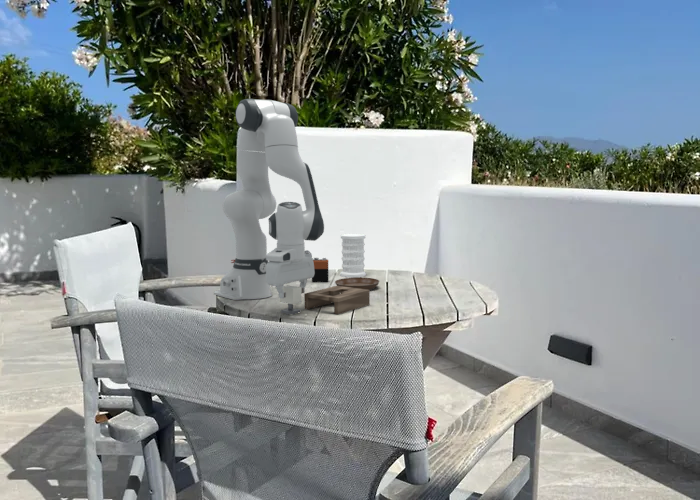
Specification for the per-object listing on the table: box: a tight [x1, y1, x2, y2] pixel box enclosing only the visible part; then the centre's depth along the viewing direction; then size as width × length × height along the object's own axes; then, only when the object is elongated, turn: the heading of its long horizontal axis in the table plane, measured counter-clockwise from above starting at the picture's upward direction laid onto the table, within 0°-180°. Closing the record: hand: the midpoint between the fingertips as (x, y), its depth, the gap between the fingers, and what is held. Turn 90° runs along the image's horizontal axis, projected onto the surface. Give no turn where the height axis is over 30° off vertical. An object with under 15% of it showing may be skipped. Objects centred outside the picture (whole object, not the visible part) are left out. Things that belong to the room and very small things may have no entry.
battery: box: [311, 257, 329, 283], centre depth 257 cm, size 4×7×10 cm, turn 90°
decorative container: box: [339, 233, 367, 278], centre depth 273 cm, size 12×12×18 cm
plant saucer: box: [334, 277, 380, 291], centre depth 243 cm, size 18×18×3 cm
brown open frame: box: [303, 285, 371, 315], centre depth 208 cm, size 14×18×5 cm
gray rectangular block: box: [278, 284, 303, 315], centre depth 199 cm, size 6×4×8 cm
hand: (292, 295), depth 198 cm, fingers open, 8 cm apart
